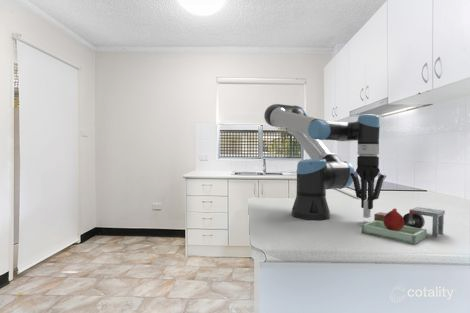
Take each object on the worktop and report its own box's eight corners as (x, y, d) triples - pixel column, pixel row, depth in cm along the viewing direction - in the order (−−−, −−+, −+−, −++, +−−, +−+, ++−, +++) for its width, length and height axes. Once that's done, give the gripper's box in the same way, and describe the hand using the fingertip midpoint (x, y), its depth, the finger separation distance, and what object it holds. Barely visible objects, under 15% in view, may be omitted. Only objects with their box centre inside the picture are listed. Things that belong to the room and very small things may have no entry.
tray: (361, 232, 97) (361, 224, 97) (375, 227, 104) (375, 220, 104) (414, 244, 85) (415, 235, 85) (426, 237, 92) (426, 229, 92)
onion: (386, 235, 92) (387, 209, 92) (381, 230, 98) (381, 206, 97) (406, 236, 91) (407, 210, 91) (400, 231, 96) (400, 207, 96)
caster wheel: (399, 230, 100) (399, 208, 100) (407, 226, 106) (408, 205, 106) (437, 237, 92) (437, 213, 92) (444, 233, 98) (444, 210, 97)
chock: (374, 224, 108) (374, 213, 108) (380, 222, 111) (380, 212, 111) (385, 226, 105) (385, 215, 105) (391, 224, 108) (391, 214, 108)
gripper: (346, 155, 115) (345, 215, 115) (381, 155, 105) (380, 221, 105) (356, 155, 120) (354, 213, 120) (389, 155, 110) (388, 218, 110)
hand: (366, 217), depth 113 cm, fingers closed
